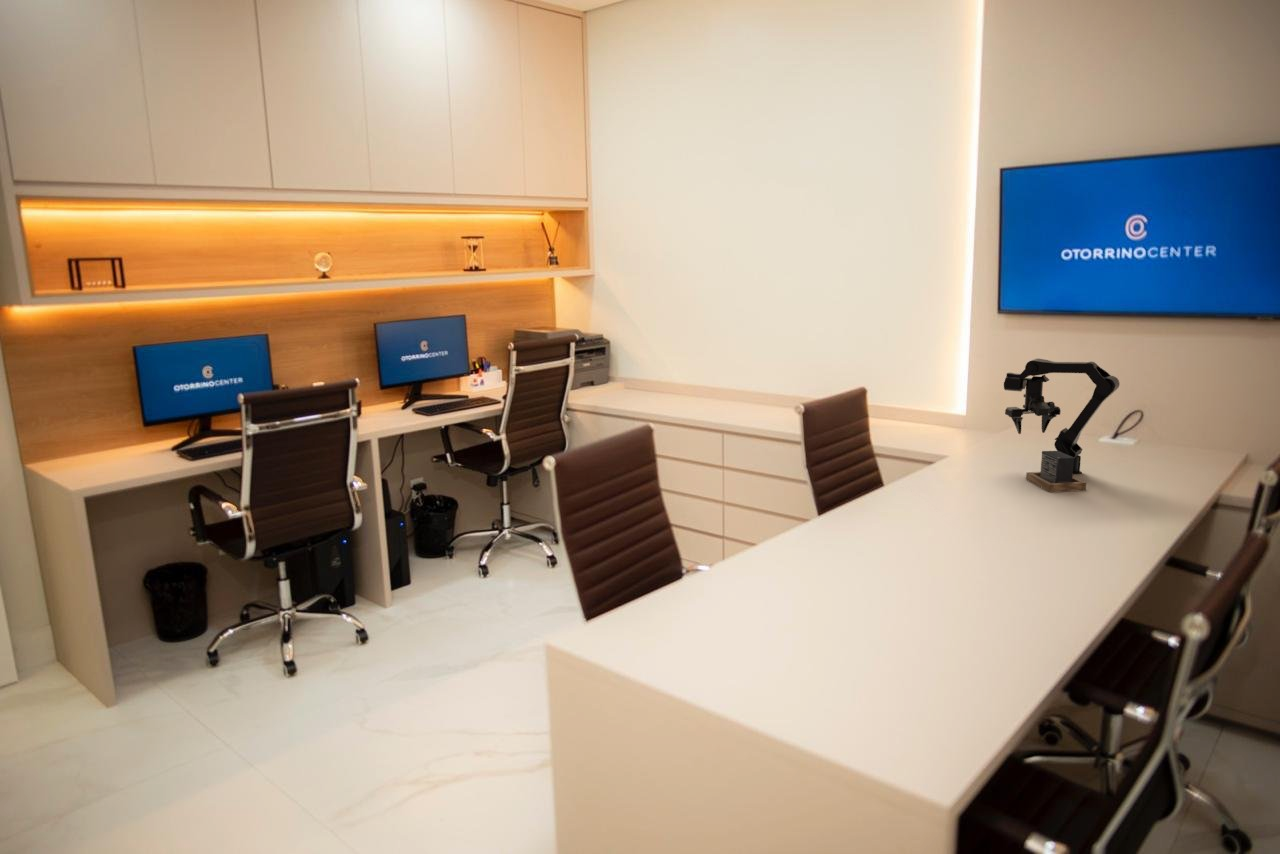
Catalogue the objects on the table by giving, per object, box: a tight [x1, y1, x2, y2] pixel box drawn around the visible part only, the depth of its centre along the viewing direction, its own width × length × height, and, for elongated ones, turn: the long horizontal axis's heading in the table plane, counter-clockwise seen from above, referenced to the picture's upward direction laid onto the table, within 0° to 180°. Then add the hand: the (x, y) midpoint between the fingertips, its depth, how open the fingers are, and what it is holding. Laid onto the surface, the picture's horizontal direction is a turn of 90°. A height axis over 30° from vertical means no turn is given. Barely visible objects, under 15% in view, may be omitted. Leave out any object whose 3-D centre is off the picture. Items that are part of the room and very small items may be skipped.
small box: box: [1040, 450, 1074, 483], centre depth 300 cm, size 11×6×10 cm, turn 4°
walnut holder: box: [1025, 471, 1087, 493], centre depth 301 cm, size 13×16×3 cm
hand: (1031, 433), depth 322 cm, fingers open, 9 cm apart
